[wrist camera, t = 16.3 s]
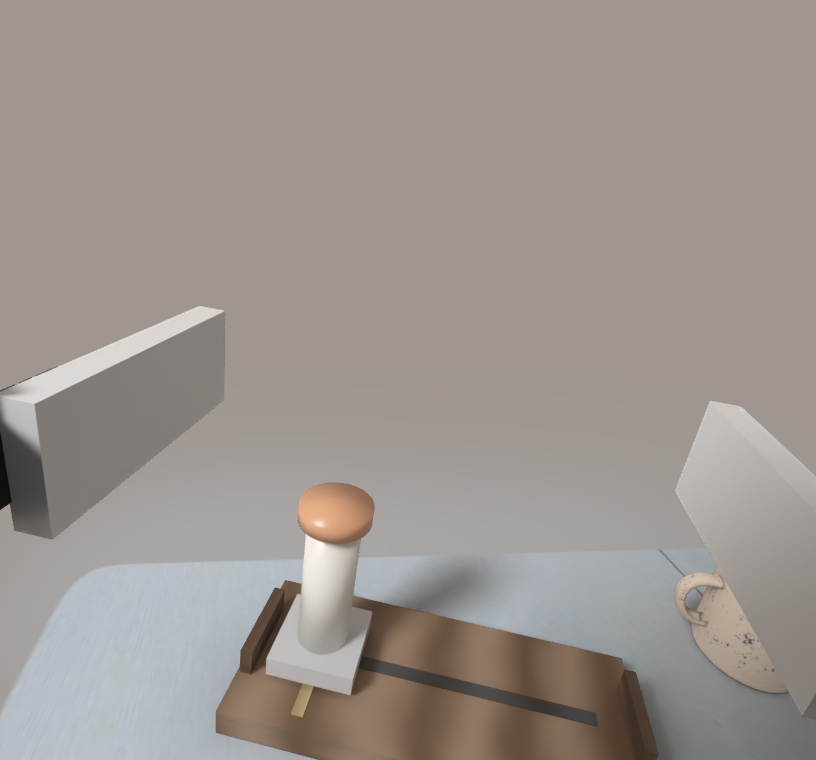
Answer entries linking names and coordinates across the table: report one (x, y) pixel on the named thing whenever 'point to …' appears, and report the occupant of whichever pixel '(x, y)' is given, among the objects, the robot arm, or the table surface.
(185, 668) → the table surface
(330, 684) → the fader
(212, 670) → the table surface
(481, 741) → the fader track
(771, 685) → the teacup with lid
